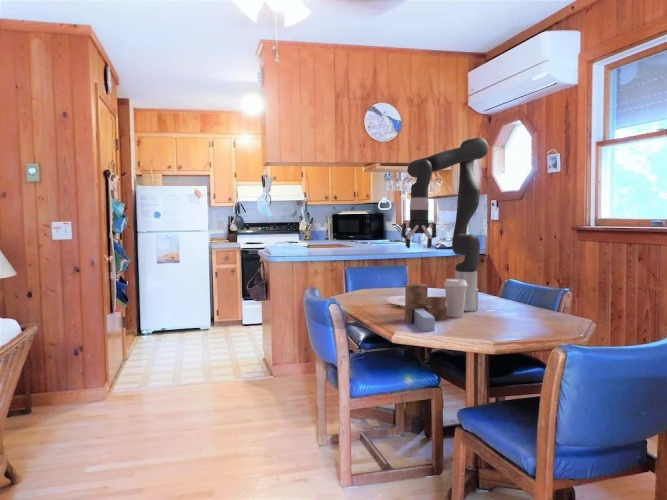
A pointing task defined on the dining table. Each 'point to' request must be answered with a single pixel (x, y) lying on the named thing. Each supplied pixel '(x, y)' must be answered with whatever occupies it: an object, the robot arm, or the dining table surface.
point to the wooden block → (423, 302)
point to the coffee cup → (455, 297)
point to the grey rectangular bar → (423, 319)
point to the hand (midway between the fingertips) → (418, 248)
